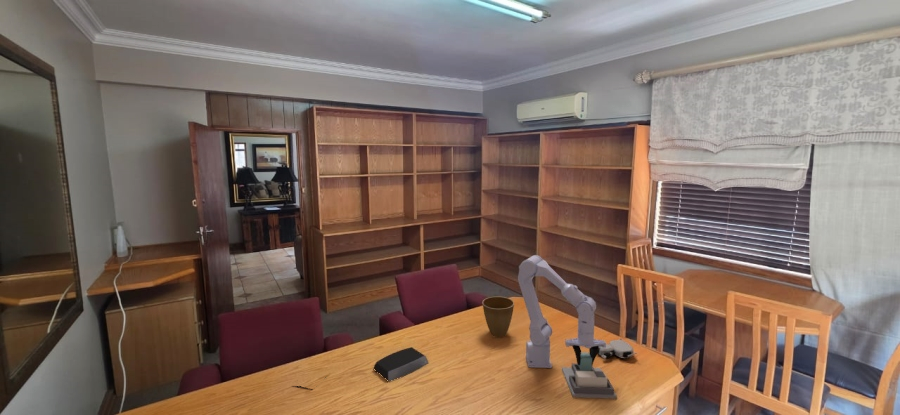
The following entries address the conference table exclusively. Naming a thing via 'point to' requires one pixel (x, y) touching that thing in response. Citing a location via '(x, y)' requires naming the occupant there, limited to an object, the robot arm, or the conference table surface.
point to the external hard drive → (400, 363)
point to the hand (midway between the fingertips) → (584, 363)
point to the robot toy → (617, 349)
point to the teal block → (585, 362)
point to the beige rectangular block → (590, 379)
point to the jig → (586, 391)
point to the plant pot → (498, 314)
